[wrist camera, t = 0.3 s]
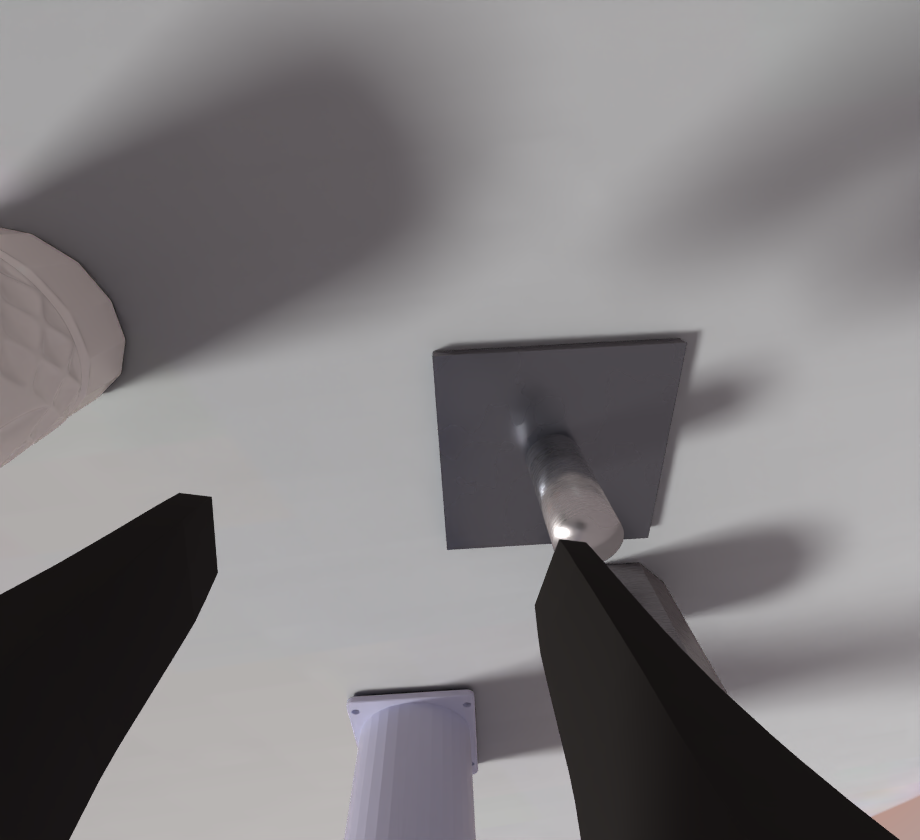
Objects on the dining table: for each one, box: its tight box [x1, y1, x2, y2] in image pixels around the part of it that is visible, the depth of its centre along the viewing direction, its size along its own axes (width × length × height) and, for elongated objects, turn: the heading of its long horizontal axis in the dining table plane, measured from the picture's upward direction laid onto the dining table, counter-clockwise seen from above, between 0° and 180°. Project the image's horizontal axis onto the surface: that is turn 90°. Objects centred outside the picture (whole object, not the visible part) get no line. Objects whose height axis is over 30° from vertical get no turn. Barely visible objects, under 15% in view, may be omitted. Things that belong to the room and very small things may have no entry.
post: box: [433, 338, 687, 561], centre depth 17 cm, size 10×10×6 cm
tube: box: [607, 563, 727, 693], centre depth 22 cm, size 5×5×6 cm
